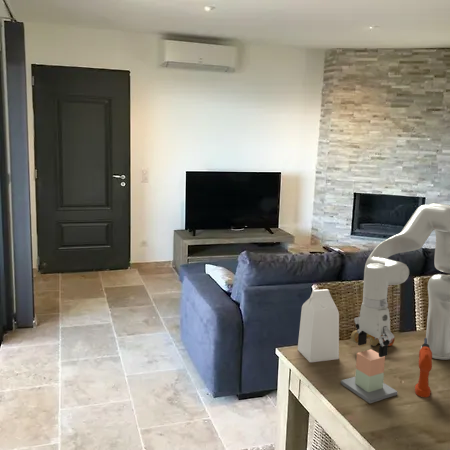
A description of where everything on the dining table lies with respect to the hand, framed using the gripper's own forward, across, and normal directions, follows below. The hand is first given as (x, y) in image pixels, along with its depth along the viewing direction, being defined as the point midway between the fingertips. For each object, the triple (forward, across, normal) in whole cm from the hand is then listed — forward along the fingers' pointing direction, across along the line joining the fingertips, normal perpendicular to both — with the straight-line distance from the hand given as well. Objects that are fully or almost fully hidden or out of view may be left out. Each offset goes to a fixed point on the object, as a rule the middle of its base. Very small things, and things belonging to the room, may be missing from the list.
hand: (372, 350), depth 166 cm
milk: (+14, +29, 0) cm, 32 cm away
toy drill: (+15, -6, -17) cm, 24 cm away
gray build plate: (+14, 0, +1) cm, 14 cm away
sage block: (+13, 0, +1) cm, 13 cm away
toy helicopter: (+15, +25, -25) cm, 38 cm away
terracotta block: (+7, 0, +1) cm, 7 cm away
